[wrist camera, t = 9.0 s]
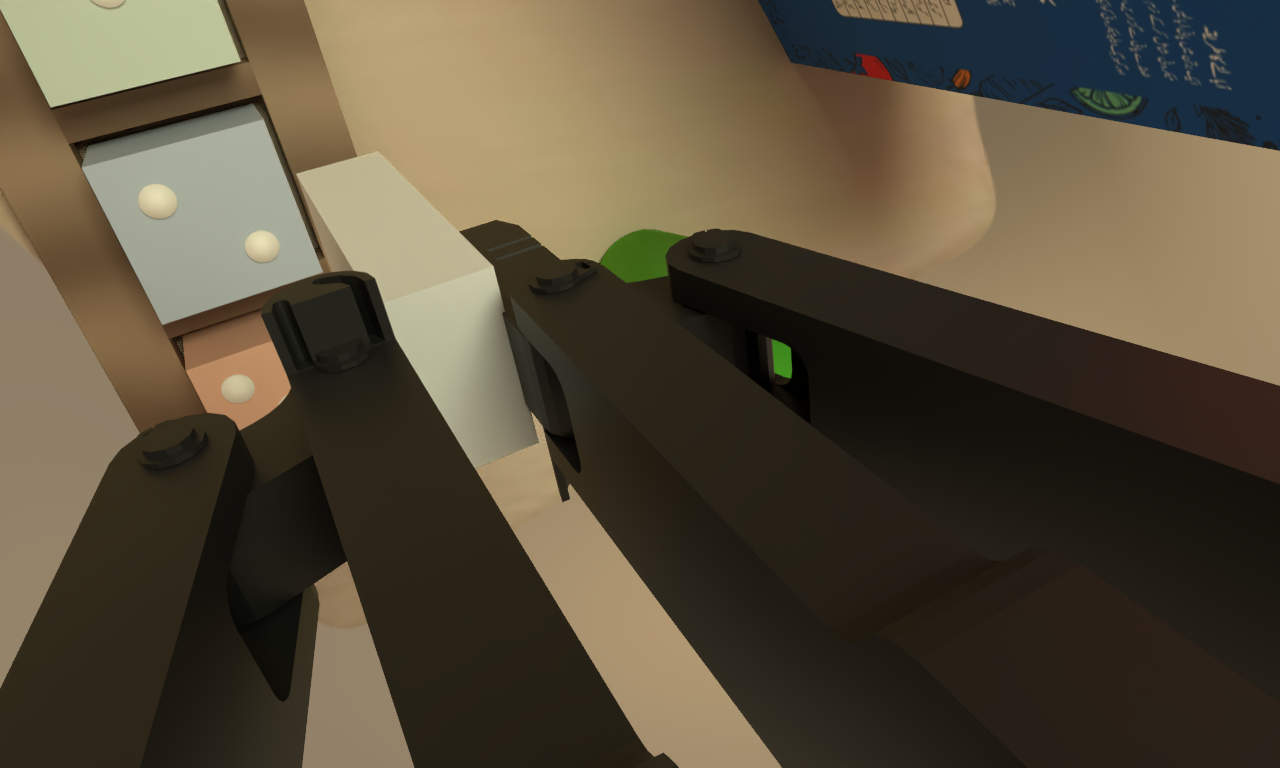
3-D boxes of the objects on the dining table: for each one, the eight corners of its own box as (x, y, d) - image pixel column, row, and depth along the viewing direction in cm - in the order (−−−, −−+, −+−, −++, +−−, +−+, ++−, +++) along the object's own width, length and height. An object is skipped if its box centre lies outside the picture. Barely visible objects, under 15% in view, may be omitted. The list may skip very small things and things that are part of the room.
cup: (606, 386, 48) (709, 485, 39) (527, 255, 42) (626, 336, 34) (733, 293, 49) (861, 368, 40) (673, 155, 44) (805, 208, 35)
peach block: (182, 333, 36) (185, 372, 33) (324, 286, 38) (341, 318, 35) (239, 448, 39) (248, 494, 36) (368, 399, 41) (388, 439, 38)
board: (-160, -116, 27) (-175, -119, 26) (237, -178, 31) (240, -183, 29) (180, 489, 39) (181, 505, 38) (433, 391, 43) (441, 404, 42)
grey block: (87, 145, 32) (81, 168, 29) (252, 103, 34) (264, 120, 31) (160, 290, 35) (162, 326, 32) (307, 244, 37) (323, 273, 34)
